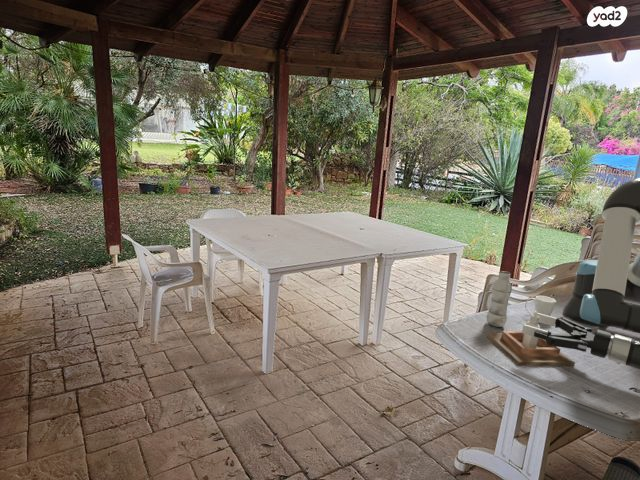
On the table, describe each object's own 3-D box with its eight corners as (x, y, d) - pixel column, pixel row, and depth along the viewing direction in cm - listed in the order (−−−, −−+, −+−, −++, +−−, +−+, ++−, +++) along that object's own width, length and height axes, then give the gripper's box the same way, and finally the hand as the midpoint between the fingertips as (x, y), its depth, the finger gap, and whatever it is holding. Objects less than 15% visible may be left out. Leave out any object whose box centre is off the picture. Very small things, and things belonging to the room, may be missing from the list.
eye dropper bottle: (519, 347, 126) (526, 312, 124) (522, 341, 131) (530, 307, 128) (534, 352, 124) (542, 316, 121) (537, 346, 128) (545, 311, 126)
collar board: (536, 337, 138) (538, 327, 137) (574, 365, 120) (576, 354, 119) (486, 336, 135) (488, 326, 134) (518, 365, 118) (520, 354, 117)
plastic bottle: (507, 330, 141) (517, 276, 137) (487, 327, 143) (496, 274, 138) (502, 323, 147) (512, 271, 143) (483, 320, 149) (492, 268, 144)
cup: (551, 324, 150) (555, 303, 148) (522, 316, 155) (526, 296, 153) (552, 318, 156) (557, 298, 154) (524, 310, 161) (528, 291, 159)
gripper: (602, 375, 105) (515, 346, 118) (609, 343, 124) (534, 321, 137) (609, 349, 103) (520, 322, 116) (615, 320, 122) (538, 300, 135)
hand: (527, 321), depth 126 cm, fingers open, 13 cm apart
